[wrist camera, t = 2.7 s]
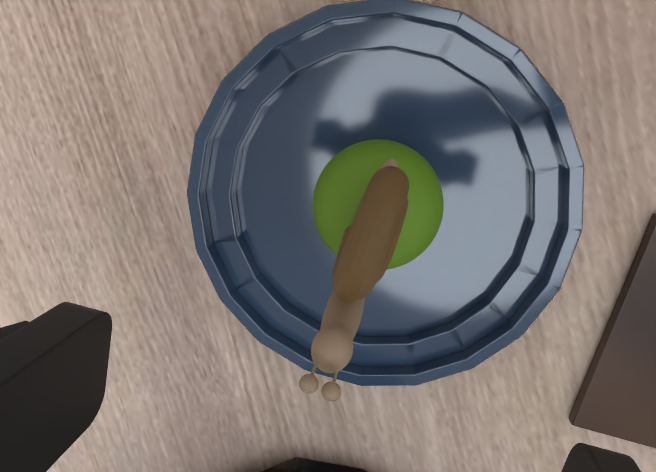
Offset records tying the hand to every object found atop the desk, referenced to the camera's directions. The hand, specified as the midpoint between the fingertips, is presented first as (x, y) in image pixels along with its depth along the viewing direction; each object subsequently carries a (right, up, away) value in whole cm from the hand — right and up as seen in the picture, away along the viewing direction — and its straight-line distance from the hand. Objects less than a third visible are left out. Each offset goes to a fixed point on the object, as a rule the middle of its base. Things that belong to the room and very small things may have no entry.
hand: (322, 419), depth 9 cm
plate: (+3, +5, +17) cm, 18 cm away
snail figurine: (+2, +5, +16) cm, 17 cm away
